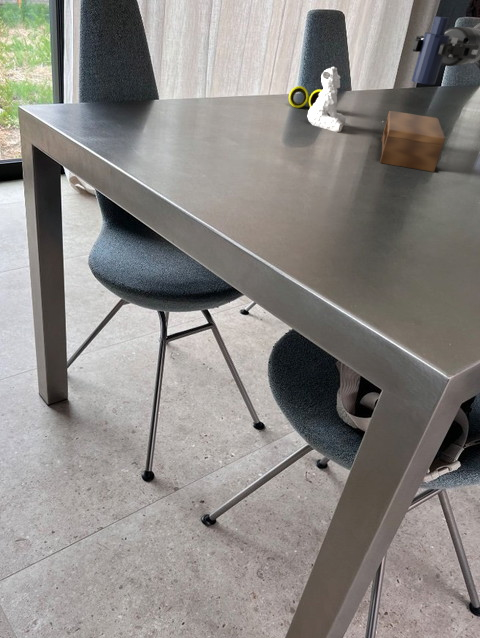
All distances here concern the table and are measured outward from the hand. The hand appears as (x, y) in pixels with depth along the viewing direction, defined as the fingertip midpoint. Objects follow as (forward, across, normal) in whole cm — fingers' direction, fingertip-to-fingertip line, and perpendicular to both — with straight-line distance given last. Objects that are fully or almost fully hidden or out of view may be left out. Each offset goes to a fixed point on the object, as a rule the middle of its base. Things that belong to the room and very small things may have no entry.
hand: (428, 47), depth 117 cm
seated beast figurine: (+9, +15, -18) cm, 25 cm away
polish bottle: (-3, 0, -7) cm, 7 cm away
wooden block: (+14, -8, -18) cm, 24 cm away
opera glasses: (-5, +29, -18) cm, 34 cm away
